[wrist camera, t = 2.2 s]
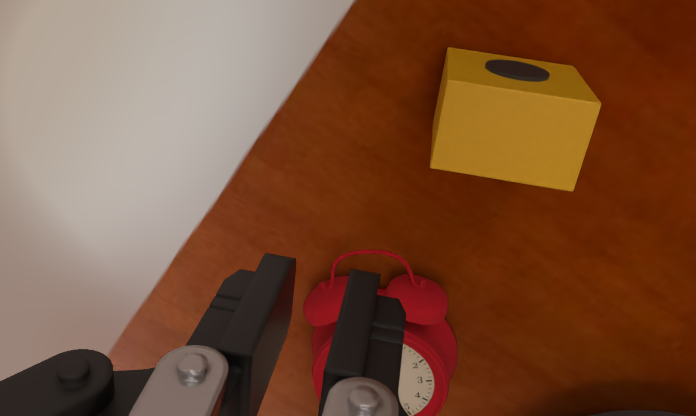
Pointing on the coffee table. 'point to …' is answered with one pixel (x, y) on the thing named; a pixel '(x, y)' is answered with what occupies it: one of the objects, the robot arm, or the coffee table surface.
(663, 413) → the planter
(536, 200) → the coffee table surface
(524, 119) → the yellow rectangular block
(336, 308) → the alarm clock
